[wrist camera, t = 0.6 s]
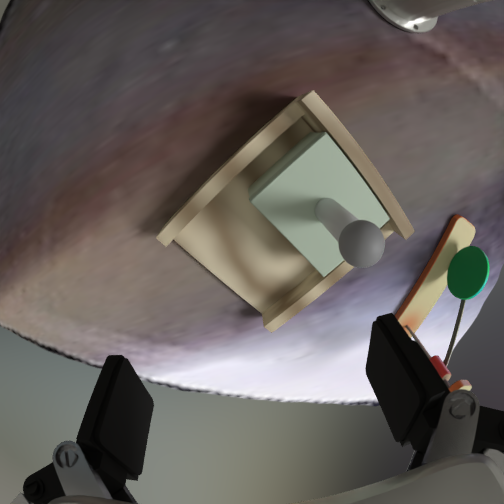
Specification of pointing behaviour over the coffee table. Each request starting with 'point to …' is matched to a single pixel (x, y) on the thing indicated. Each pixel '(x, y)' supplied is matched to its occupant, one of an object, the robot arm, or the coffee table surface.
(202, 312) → the coffee table surface
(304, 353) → the coffee table surface
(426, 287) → the crank mechanism
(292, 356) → the coffee table surface
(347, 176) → the green joystick
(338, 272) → the bay
